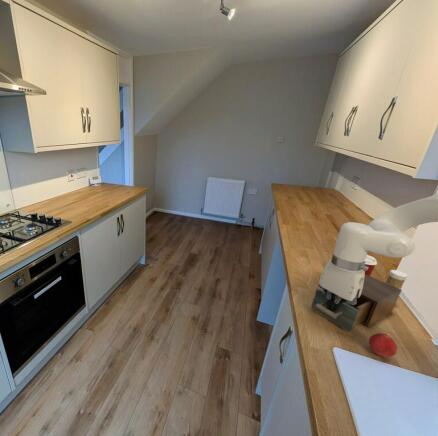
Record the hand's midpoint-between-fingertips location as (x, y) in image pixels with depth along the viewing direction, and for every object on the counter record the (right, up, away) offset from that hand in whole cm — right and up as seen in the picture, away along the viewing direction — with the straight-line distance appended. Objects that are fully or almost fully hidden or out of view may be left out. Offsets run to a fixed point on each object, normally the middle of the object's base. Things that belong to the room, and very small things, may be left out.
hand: (331, 309), depth 79 cm
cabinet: (+17, -3, +10) cm, 20 cm away
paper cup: (+28, +1, +23) cm, 36 cm away
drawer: (+6, -4, +5) cm, 8 cm away
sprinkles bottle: (+31, -2, +13) cm, 34 cm away
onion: (+7, -10, -9) cm, 15 cm away
